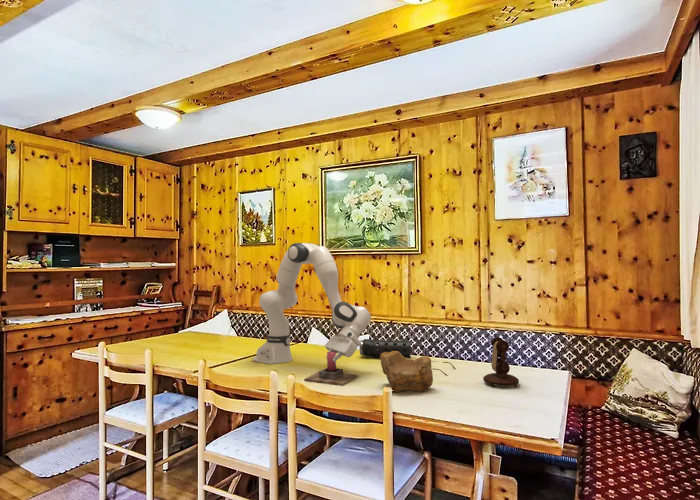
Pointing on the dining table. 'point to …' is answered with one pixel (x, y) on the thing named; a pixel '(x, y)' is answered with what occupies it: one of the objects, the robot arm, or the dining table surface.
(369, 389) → the dining table surface
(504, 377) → the dark brown ornamental stand
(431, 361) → the eyeglasses
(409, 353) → the muzzle brake
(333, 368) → the candle
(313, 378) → the candle board
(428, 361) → the rough brown rock
